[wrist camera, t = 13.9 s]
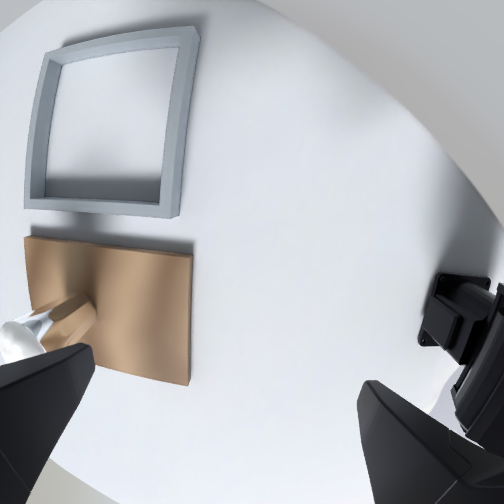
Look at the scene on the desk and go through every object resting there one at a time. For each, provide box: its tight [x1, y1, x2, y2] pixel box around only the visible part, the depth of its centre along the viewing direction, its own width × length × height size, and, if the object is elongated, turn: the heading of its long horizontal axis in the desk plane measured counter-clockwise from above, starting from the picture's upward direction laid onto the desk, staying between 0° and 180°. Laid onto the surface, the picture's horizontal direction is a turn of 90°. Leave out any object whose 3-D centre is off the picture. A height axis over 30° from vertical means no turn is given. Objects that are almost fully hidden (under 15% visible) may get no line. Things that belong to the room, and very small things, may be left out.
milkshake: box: [0, 291, 97, 364], centre depth 17 cm, size 4×5×10 cm
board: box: [24, 235, 193, 386], centre depth 22 cm, size 16×11×1 cm
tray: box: [24, 26, 200, 219], centre depth 18 cm, size 14×14×2 cm
